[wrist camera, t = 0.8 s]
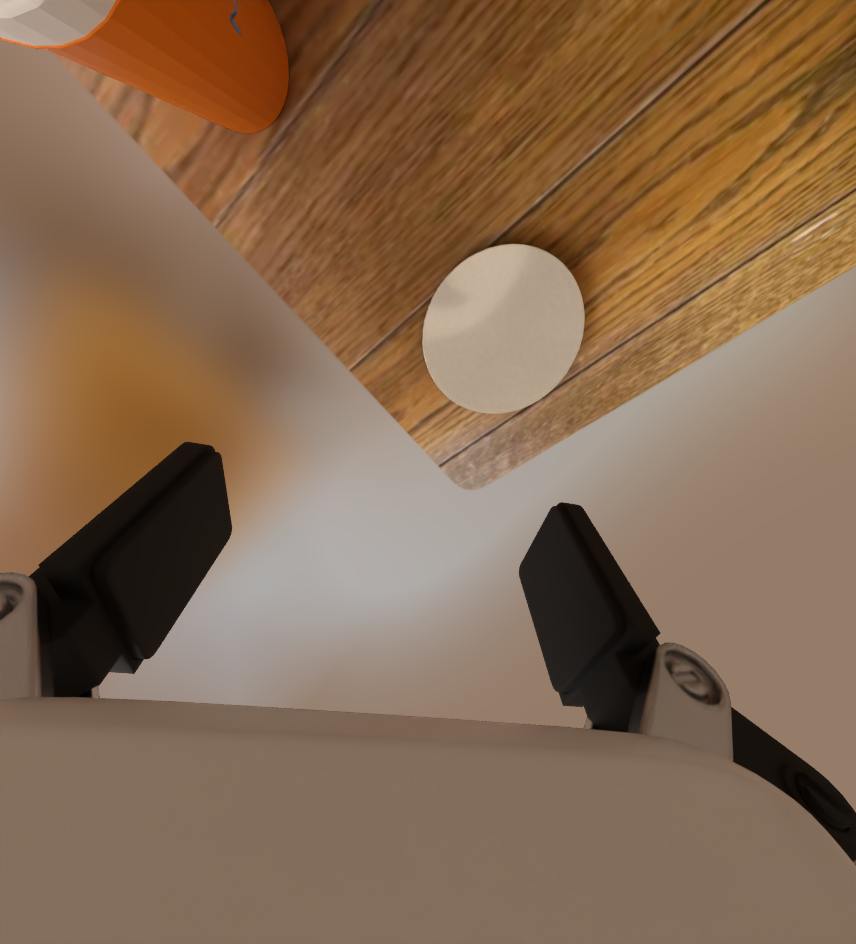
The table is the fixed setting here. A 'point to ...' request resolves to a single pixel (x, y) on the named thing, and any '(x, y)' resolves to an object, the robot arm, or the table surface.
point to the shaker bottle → (169, 50)
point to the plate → (503, 328)
